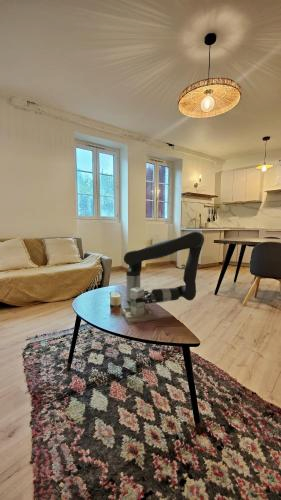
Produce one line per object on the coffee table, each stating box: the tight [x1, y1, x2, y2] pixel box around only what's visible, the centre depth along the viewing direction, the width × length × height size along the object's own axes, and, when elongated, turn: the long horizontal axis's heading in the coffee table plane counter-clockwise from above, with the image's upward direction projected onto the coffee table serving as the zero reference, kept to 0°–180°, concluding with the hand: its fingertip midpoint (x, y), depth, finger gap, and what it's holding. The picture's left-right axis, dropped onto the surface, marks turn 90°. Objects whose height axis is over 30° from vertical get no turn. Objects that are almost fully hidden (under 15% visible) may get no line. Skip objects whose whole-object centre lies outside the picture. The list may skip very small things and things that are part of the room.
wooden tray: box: [121, 304, 154, 324], centre depth 121 cm, size 14×14×3 cm
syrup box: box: [129, 287, 145, 316], centre depth 120 cm, size 6×6×14 cm
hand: (133, 298), depth 119 cm, fingers open, 8 cm apart
